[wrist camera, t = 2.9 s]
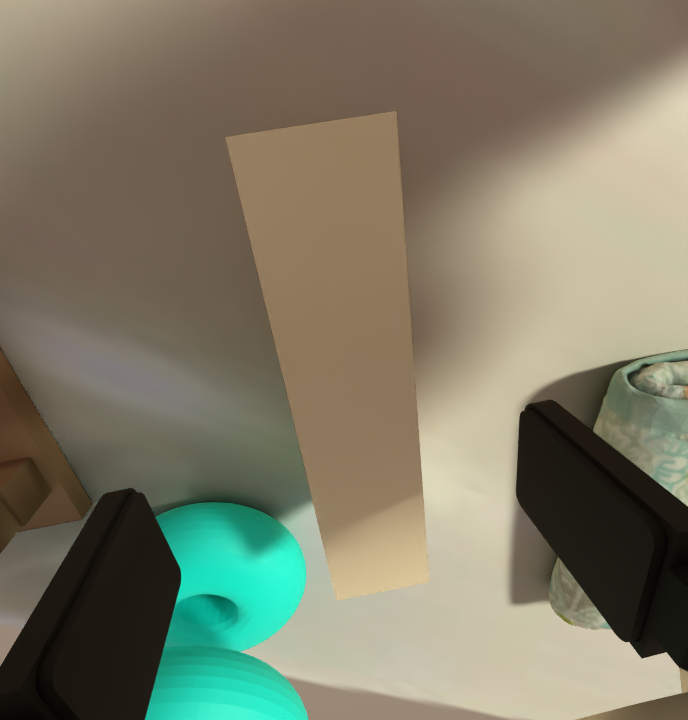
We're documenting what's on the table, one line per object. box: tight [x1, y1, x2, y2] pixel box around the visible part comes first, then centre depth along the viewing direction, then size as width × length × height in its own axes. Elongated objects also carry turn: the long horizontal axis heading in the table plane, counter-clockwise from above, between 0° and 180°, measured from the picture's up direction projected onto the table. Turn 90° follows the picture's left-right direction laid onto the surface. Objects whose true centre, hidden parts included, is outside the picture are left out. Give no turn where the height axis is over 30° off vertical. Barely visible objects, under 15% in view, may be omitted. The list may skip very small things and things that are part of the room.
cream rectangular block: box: [225, 111, 429, 600], centre depth 14 cm, size 15×4×7 cm, turn 8°
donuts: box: [145, 502, 308, 720], centre depth 18 cm, size 10×10×10 cm
